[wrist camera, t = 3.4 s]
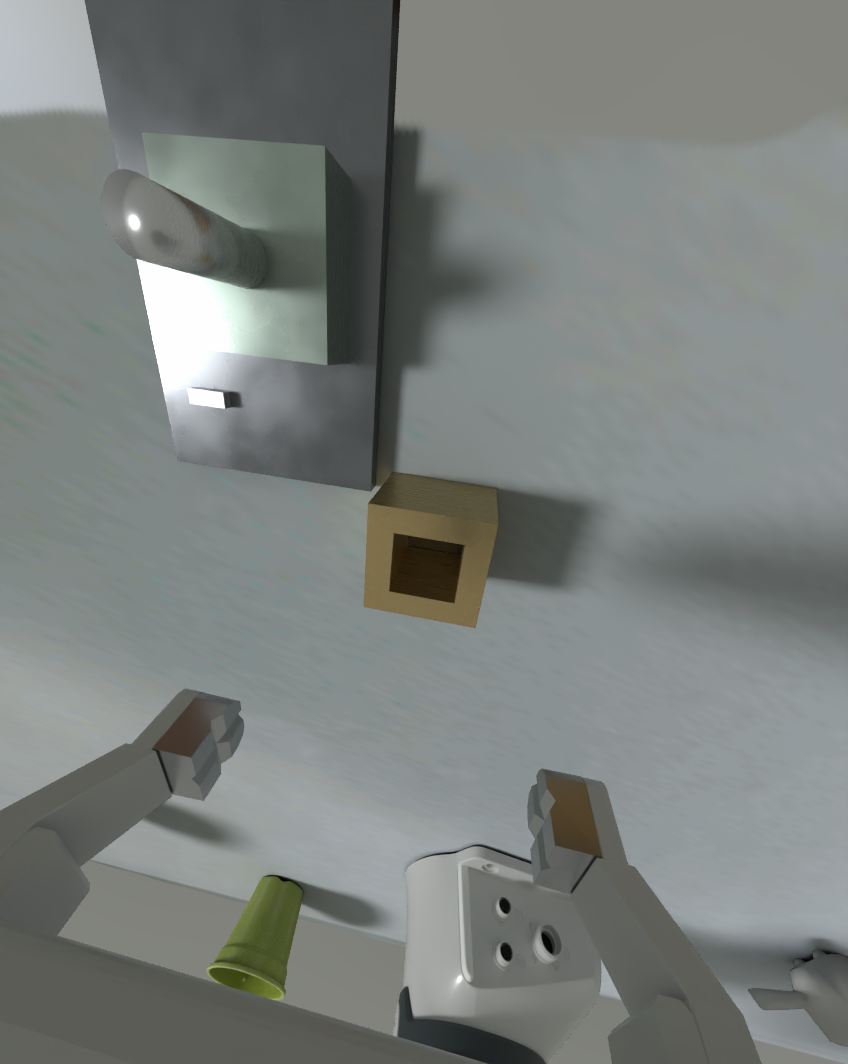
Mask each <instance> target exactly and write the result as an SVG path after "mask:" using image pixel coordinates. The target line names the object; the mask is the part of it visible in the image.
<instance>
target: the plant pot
mask: <svg viewBox="0 0 848 1064" xmlns="http://www.w3.org/2000/svg"><path fill="white" fill-rule="evenodd" d="M302 898H303V891H302V890H301V888H300V887H298V886H297V885H296V884H295V883H293V882H291V881H287V882H283V881H281V880H280V879H279V877H276V876H268V877H264V878H262V879H261V880H260V882H259V884H258V886H257V888H256V889H255V891H254V893H253V895H252V897H251V899H250V901H249V903H248V904H247V907H246V908H245V910H244V912H243V914H242V916H241V917H240V919H239V921H238V923H237V925H236V927H235V928H234V930H233V932H232V934H231V936H230V938H229V939H228V941H227V943H226V945H225V946H224V947H223V948H222V949H221V951H220V952H219V954H218V956H217V958H216V960H215V962H214V963H212V964H210V966H209V967H208V968H207V974H208V975H209V976H210V977H211V978H212V979H213V980H214V981H216V982H217V983H219V984H222V985H225V986H229V987H232V988H235V989H239V990H242V991H245V992H249V993H252V994H255V995H259V996H262V997H265V998H269V999H272V1000H276V1001H278V1000H281V999H283V998H284V997H285V993H286V990H285V988H284V985H285V980H286V975H287V968H286V967H287V962H288V958H289V954H290V950H291V945H292V941H293V936H294V932H295V928H296V923H297V919H298V915H299V911H300V907H301V903H302Z"/></svg>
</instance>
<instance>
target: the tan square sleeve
mask: <svg viewBox="0 0 848 1064" xmlns="http://www.w3.org/2000/svg"><path fill="white" fill-rule="evenodd" d="M498 525H499V523H498V508H497V494H496V488H492V487H486V486H479V485H473V484H466V483H460V482H453V481H447V480H440V479H434V478H427V477H421V476H414V475H408V474H401V473H395V472H393V473H392V474H391V475H390V477H389V478H388V479H387V480H386V482H385V483H384V484H383V485H382V487H381V488H380V489H379V490H378V492H377V493H376V494H375V495H374V497H373V498H372V499H371V500H370V502H369V503H368V520H367V543H366V567H365V591H364V607H367V608H372V609H378V610H383V611H388V612H394V613H399V614H404V615H409V616H415V617H420V618H425V619H431V620H436V621H441V622H446V623H452V624H457V625H462V626H468V627H473V628H476V624H477V619H478V615H479V610H480V606H481V601H482V597H483V592H484V588H485V583H486V579H487V574H488V570H489V565H490V561H491V556H492V552H493V548H494V543H495V539H496V534H497V530H498ZM409 536H414V537H420V538H426V539H432V540H438V541H444V542H450V543H456V544H462V551H461V555H456V554H451V553H445V552H439V551H433V550H427V549H422V548H416V547H410V546H408V539H409Z"/></svg>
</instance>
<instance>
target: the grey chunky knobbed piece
mask: <svg viewBox="0 0 848 1064" xmlns="http://www.w3.org/2000/svg"><path fill="white" fill-rule="evenodd" d="M812 954H813V958H814V959H813V960H811V961H808V962H805V961H804V960H801V959H795V960H794V967H795V968H792V969H790V971H791V972H790V978H791V982H792V986H793V991H782V990H772V989H762V988H752V989H749V990H748V991H749V993H750V994H751V996H752V997H753V998H754V1000H755V1001H756V1003H757V1004H758V1006H759V1007H760V1008H762V1009H763V1010H789V1009H803V1008H804V1009H805V1010H806V1011H807V1013H808V1014H809V1015H810V1016H811V1018H812V1019H813V1020H814V1021H815V1023H816V1024H817V1025H818V1026H819V1028H820V1029H821V1030H822V1031H823V1033H824V1034H825V1035H826V1037H827V1038H828V1039H829V1040H830V1041H831V1042H834V1043H836V1044H839V1045H842V1046H847V1047H848V957H845V956H842V955H839V954H825V953H824V952H822V951H820V950H815V951H814V952H813V953H812Z"/></svg>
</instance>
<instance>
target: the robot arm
mask: <svg viewBox="0 0 848 1064" xmlns="http://www.w3.org/2000/svg"><path fill="white" fill-rule="evenodd" d="M240 711H241V705H240V701H237V700H233V699H229V698H224V697H220V696H215V695H211V694H207V693H204V692H199V691H195V690H190V689H184V690H183V691H181V692H179V693H178V694H177V695H176V696H175V697H174V698H173V699H172V700H171V701H170V703H169V704H168V705H167V706H166V707H165V708H164V709H163V710H162V711H161V712H160V713H159V715H158V716H157V717H156V718H155V719H154V720H153V721H152V722H151V723H150V724H149V725H148V727H147V728H146V729H145V730H144V731H143V732H142V733H141V734H140V735H139V736H138V737H137V739H136V740H135V741H134V742H133V743H132V744H124V745H122V746H120V747H118V748H116V749H114V750H112V751H111V752H109V753H107V754H105V755H103V756H101V757H99V758H98V759H96V760H94V761H92V762H90V763H88V764H86V765H84V766H83V767H81V768H79V769H77V770H75V771H73V772H71V773H70V774H68V775H66V776H64V777H62V778H60V779H58V780H56V781H55V782H53V783H51V784H49V785H47V786H45V787H43V788H42V789H40V790H38V791H36V792H34V793H32V794H30V795H29V796H27V797H25V798H23V799H21V800H19V801H17V802H15V803H14V804H12V805H10V806H8V807H6V808H4V809H2V810H1V811H0V1064H547V1063H548V1062H549V1061H550V1060H551V1059H552V1058H553V1056H554V1055H555V1054H556V1053H557V1052H558V1050H559V1049H560V1048H561V1047H562V1046H563V1045H564V1043H565V1042H566V1041H567V1040H568V1039H569V1037H570V1036H571V1035H572V1034H573V1032H574V1031H575V1030H576V1029H577V1027H578V1026H579V1025H580V1023H581V1022H582V1021H583V1020H584V1019H585V1017H586V1016H587V1015H588V1013H589V1012H590V1011H591V1009H592V1008H593V1007H594V1005H595V1003H596V1001H597V999H598V996H599V992H600V987H601V959H602V961H603V963H604V965H605V967H606V969H607V971H608V973H609V975H610V977H611V979H612V981H613V983H614V985H615V987H616V989H617V991H618V993H619V995H620V997H621V999H622V1001H623V1003H624V1005H625V1007H626V1009H627V1011H628V1013H629V1015H630V1017H628V1018H627V1019H626V1020H625V1021H623V1022H622V1023H621V1024H619V1025H618V1026H617V1027H616V1028H614V1029H613V1030H612V1032H611V1033H610V1035H609V1036H608V1041H609V1047H610V1053H611V1059H612V1064H762V1063H761V1061H760V1058H759V1055H758V1053H757V1050H756V1048H755V1045H754V1043H753V1040H752V1037H751V1035H750V1032H749V1030H748V1027H747V1024H746V1022H745V1019H744V1017H743V1014H742V1013H741V1012H740V1010H739V1009H738V1008H737V1006H736V1005H735V1003H734V1002H733V1001H732V999H731V998H730V997H729V995H728V994H727V992H726V991H725V990H724V988H723V987H722V986H721V984H720V983H719V982H718V980H717V979H716V977H715V976H714V975H713V973H712V972H711V971H710V969H709V968H708V966H707V965H706V964H705V962H704V961H703V960H702V958H701V957H700V955H699V954H698V953H697V951H696V950H695V949H694V947H693V946H692V944H691V943H690V942H689V940H688V939H687V938H686V936H685V935H684V933H683V932H682V931H681V929H680V928H679V927H678V925H677V924H676V922H675V921H674V920H673V918H672V917H671V916H670V914H669V913H668V912H667V910H666V909H665V907H664V906H663V905H662V903H661V902H660V901H659V899H658V898H657V896H656V895H655V894H654V892H653V891H652V890H651V888H650V887H649V885H648V884H647V883H646V881H645V880H644V879H643V877H642V876H641V874H640V873H639V872H638V870H637V869H636V868H635V867H634V866H630V865H628V862H627V859H626V855H625V852H624V848H623V844H622V841H621V837H620V834H619V830H618V827H617V823H616V820H615V816H614V812H613V809H612V805H611V802H610V798H609V795H608V791H607V788H606V787H605V785H604V783H602V782H601V781H597V780H592V779H588V778H583V777H580V776H576V775H571V774H566V773H561V772H556V771H551V770H546V769H540V770H539V771H538V773H537V776H536V777H537V784H535V785H533V786H532V787H531V790H530V793H529V798H528V805H527V807H528V828H529V829H530V831H531V833H532V834H533V836H534V838H535V841H534V843H533V845H532V847H531V849H530V851H531V862H532V864H529V863H527V862H524V861H521V860H518V859H515V858H512V857H510V856H507V855H504V854H501V853H498V852H495V851H493V850H490V849H487V848H484V847H478V846H476V847H470V848H467V849H464V850H462V851H460V852H458V853H454V854H446V855H436V856H430V857H426V858H423V859H420V860H418V861H416V862H414V863H413V864H411V865H410V866H409V867H408V869H407V870H406V873H405V884H406V909H407V923H406V952H405V970H404V982H403V990H402V992H401V993H400V998H399V1002H398V1003H397V1008H396V1015H395V1021H394V1029H393V1035H390V1034H386V1033H383V1032H380V1031H376V1030H373V1029H370V1028H366V1027H363V1026H359V1025H356V1024H353V1023H349V1022H345V1021H343V1020H339V1019H336V1018H332V1017H329V1016H326V1015H322V1014H319V1013H316V1012H312V1011H309V1010H306V1009H302V1008H299V1007H296V1006H292V1005H289V1004H286V1003H282V1002H279V1001H276V1000H272V999H269V998H265V997H262V996H259V995H255V994H252V993H249V992H245V991H242V990H239V989H235V988H232V987H229V986H225V985H222V984H218V983H215V982H212V981H208V980H205V979H202V978H198V977H195V976H192V975H188V974H185V973H181V972H178V971H175V970H172V969H168V968H165V967H161V966H158V965H154V964H151V963H148V962H144V961H141V960H138V959H134V958H131V957H128V956H125V955H121V954H118V953H114V952H111V951H107V950H104V949H101V948H98V947H94V946H91V945H88V944H84V943H81V942H77V941H74V940H71V939H67V938H64V937H60V936H57V935H58V933H59V932H60V931H61V929H62V928H63V927H64V925H65V924H66V922H67V921H68V920H69V918H70V917H71V916H72V914H73V913H74V911H75V910H76V909H77V907H78V906H79V905H80V903H81V902H82V900H83V899H84V898H85V896H86V895H87V894H88V892H89V889H90V882H89V881H88V879H87V878H86V876H85V875H84V873H83V872H82V870H81V869H80V867H81V866H82V865H83V864H85V863H86V862H87V861H89V860H90V859H91V858H92V857H94V856H95V855H96V854H98V853H99V852H100V851H102V850H103V849H104V848H105V847H107V846H108V845H109V844H111V843H112V842H113V841H115V840H116V839H117V838H118V837H120V836H121V835H122V834H124V833H125V832H126V831H128V830H129V829H130V828H131V827H133V826H134V825H135V824H137V823H138V822H139V821H141V820H142V819H143V818H144V817H146V816H147V815H148V814H150V813H151V812H152V811H154V810H155V809H156V808H157V807H159V806H160V805H161V804H163V803H164V802H165V801H167V800H168V799H169V798H170V797H172V794H174V795H179V796H183V797H188V798H193V799H197V800H202V801H204V800H205V798H206V796H207V795H208V793H209V792H210V790H211V789H212V787H213V786H214V784H215V782H216V781H217V779H218V778H219V776H220V775H221V764H222V763H223V762H225V761H226V760H228V759H229V758H231V757H232V756H233V754H234V752H235V751H236V749H237V747H238V746H239V743H240V741H241V738H242V736H243V731H244V721H243V719H242V718H241V717H240V716H239V715H238V714H239V712H240Z"/></svg>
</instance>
